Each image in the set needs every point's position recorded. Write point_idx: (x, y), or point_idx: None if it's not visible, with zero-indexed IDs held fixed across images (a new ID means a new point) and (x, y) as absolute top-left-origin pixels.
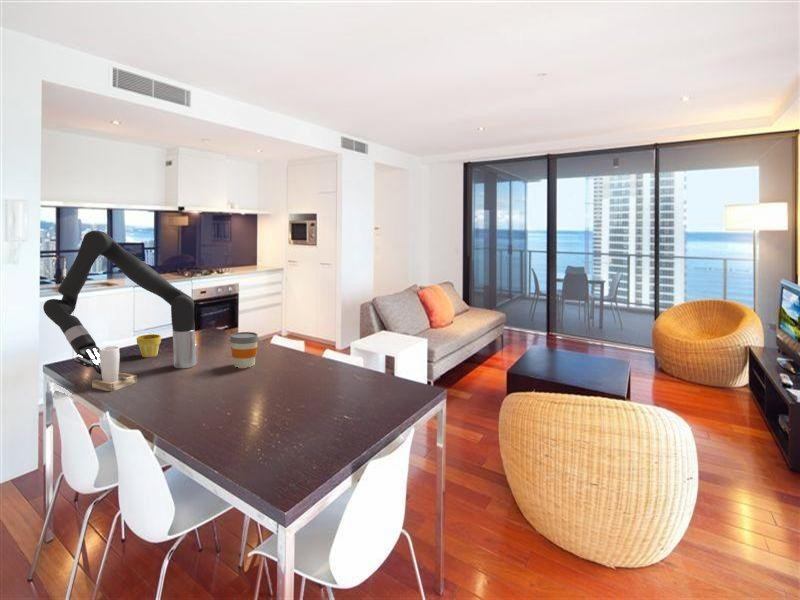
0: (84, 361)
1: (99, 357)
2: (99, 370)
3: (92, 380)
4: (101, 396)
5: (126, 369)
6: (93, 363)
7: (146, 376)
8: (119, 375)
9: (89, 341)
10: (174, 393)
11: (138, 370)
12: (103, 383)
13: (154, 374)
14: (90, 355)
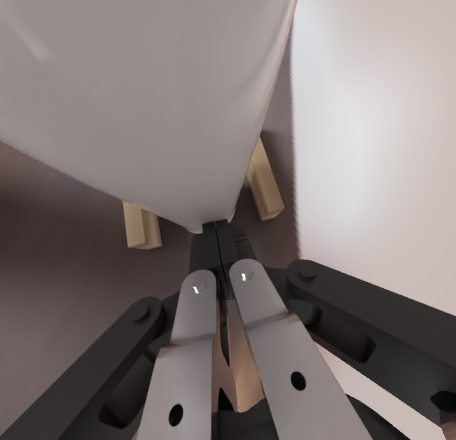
0: (402, 302)
1: (280, 65)
2: (236, 229)
3: (283, 205)
4: (284, 109)
5: (22, 397)
6: (269, 283)
7: (64, 194)
8: (147, 220)
9: None
10: None
11: (10, 317)
12: (259, 140)
13: (28, 194)
14: (350, 432)
